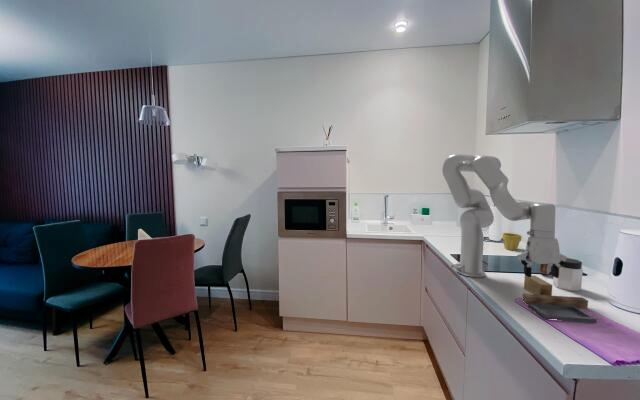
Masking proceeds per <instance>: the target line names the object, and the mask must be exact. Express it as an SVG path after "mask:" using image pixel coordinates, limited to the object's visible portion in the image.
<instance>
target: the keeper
mask: <svg viewBox="0 0 640 400" xmlns="http://www.w3.org/2000/svg"><path fill="white" fill-rule="evenodd" d="M527 308H529V309H530V308H531V309H532V310H531V309H530V310H531V311H532V312H534V311H535V312H536V313H535V312H534V313H535V314H537V315H538V316H539V317H540V318H542V319H543V320H545V321H549V320H548V319H557V320H562V321H561V322H566V321H568V322H569V323H580V324H582V323H583V324H584V323H585V324H594V323H598V318H596V317H594V316H593V315H591V314H589V313H588V312H586V311H584V310H582V308H577V307H576V306H569V305H553V304H537V303H528V305H527ZM568 322H567V323H568Z"/></svg>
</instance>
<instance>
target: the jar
mask: <svg viewBox="0 0 640 400" xmlns="http://www.w3.org/2000/svg"><path fill="white" fill-rule="evenodd" d="M582 267H583V262H582V261H580V260H579V259H575V258H569V257H567V259H566V261H565V263H564V264H563V265H562V266H561V268H559V278H555V277H553V279H552V285H554V286H555V287H556V288H558V289H561V290H565V291H570V292H580V291H582V283H583V271H584V269H583V268H582Z"/></svg>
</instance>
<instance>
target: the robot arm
mask: <svg viewBox="0 0 640 400" xmlns="http://www.w3.org/2000/svg"><path fill="white" fill-rule="evenodd" d="M501 167H502V163H501V161H500V159H499V158H498V157H496V156H492V155H473V154H463V153H462V154H460V153H459V154H452V155H449V156H448V157H447V158H446V159H445V160H444V162H443V164H442V169H441V171H442V176H443V177H444V179H445V182H446V184H447V185H448V188H449V191H450V193H451V195H452V198H453V201H454V203H455V204H456V206H457V207H458V208H461V209H468V210H466V211H464V212H462V213H461V215H460V219H459V224H460V232H461V233H460V236H461V237H460V257H459V261H458V262H457V263H449V268H453V269H454V270H455V271H456V272H457V273H458V274H460V275H462V276H466V277H470V278H483V277H486V272H485V271H484V270H483V261H484V260H483V257H484V242H485V241H484V239H485V237H484V232H483V229H485V228H487V227H490V226H491V225H492V224H493V223H494V220H495V216H494V213H493V210H492V208H491V206H490V204H489V201H488V200H487V198H486V196H485V194H483V192H482V191H481V190H479V189H475V188H471V187H470V186H469V184H468V182H467V181H468V180H467V179H466V178H465V177H464V175H463V174H462V172H469V173H470V172H471V173H475V174H476V175H477V177H478V178H479V179H480V180H481V181H482V183H483V184H484V185H485V187H486V188H487V189H488V190H489V195H490V198H491V201H492V203H493V205H494V206H495V207H496V209H497V210H498V211H499V213H500V214H501V215H502V216H503V217H504V218H506V219H507V220H509V221H512V222H515V221H516V222H517V221H523V220H530V224H529V225H530V226H529V227H530V229H529V230H527V231H526V234H527V235H529V236H528V238H527V240H526V245H525V251H523V252H521V253H519V254H517V256H516V257H517V259H518V260H519V262H520V264H521V265H523V273H524V276H525V275H526V276H528V277H531V275H532V267H531V266H532V265H533V264H535V265H536V264H539V265H541V264H552V265H553V266H551V273H550V276H551V277H553V278H554V277H555V278H559V268H561V266H562V265H563V264H564V263H565V261H566V259H567V258H568V257H567V256H566V255H564V254H561V251H560V244H559V241H558V238H556V206H555V204H553V203H549V202H548V203H546V202H543V203H542V202H539V203H538V202H537V203H536V202H535V203H534V202H529V201H516V199H515V197H513V196H512V195H511V193H510V191H509V190H508V184H509V178H508V176H506V174H505V173H504V172H503V171H502V170H501ZM524 258H525V259H524Z"/></svg>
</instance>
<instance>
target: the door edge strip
mask: <svg viewBox="0 0 640 400" xmlns="http://www.w3.org/2000/svg"><path fill="white" fill-rule="evenodd" d="M521 301H524V302H525V303H526V304H528V303H537V304H553V305H569V306H576V307H577V308H579V309H588V306H589V305H588V304H589V300H587V299H586V298H584V297H580V296H579V297H578V296H567V295H566V296H565V295H564V296H563V295H552V296H549V295H533V294H531V293H530V294H528V293H523V294H522V300H521ZM524 302H523V303H524ZM525 303H524V304H525ZM526 304H525V305H526Z"/></svg>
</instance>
